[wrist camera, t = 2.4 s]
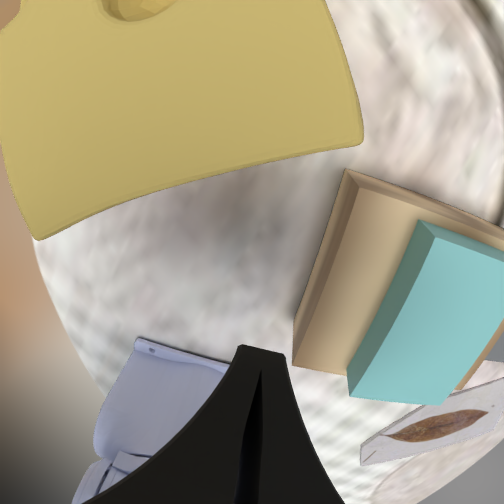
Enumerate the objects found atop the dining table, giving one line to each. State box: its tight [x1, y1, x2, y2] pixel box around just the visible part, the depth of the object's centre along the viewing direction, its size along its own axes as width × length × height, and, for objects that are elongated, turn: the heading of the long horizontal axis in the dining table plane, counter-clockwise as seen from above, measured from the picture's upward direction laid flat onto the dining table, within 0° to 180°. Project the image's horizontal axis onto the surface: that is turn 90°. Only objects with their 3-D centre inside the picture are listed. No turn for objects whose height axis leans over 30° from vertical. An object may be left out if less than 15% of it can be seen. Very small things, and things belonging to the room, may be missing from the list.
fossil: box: [360, 377, 504, 466], centre depth 24 cm, size 16×1×10 cm
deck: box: [292, 169, 504, 390], centre depth 16 cm, size 12×10×4 cm
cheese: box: [0, 0, 364, 241], centre depth 10 cm, size 10×11×10 cm
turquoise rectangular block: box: [346, 219, 504, 406], centre depth 14 cm, size 6×9×2 cm, turn 167°
